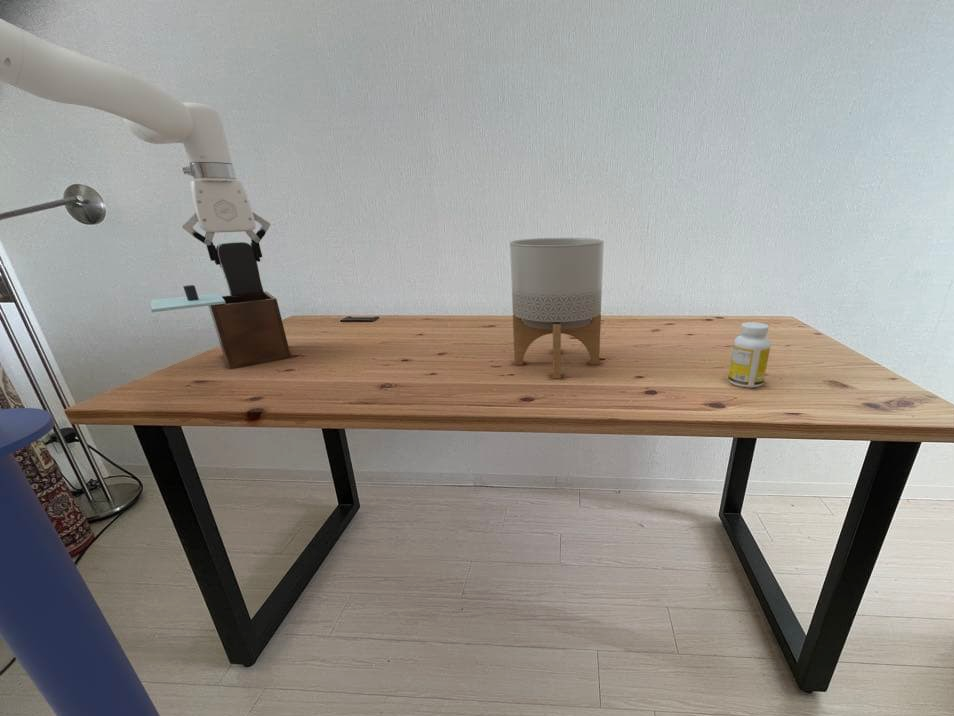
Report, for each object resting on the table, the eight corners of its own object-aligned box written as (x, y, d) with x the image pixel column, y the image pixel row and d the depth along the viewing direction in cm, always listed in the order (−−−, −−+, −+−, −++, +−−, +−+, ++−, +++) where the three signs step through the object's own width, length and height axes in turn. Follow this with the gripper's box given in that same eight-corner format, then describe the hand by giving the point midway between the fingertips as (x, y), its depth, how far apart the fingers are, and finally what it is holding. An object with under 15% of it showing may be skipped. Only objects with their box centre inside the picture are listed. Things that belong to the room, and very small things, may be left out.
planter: (595, 350, 110) (599, 237, 100) (602, 378, 93) (608, 244, 83) (518, 351, 111) (513, 238, 100) (511, 378, 94) (505, 246, 83)
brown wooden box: (229, 368, 102) (210, 306, 96) (223, 355, 111) (205, 297, 106) (291, 357, 109) (276, 298, 103) (280, 345, 118) (266, 291, 113)
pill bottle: (763, 379, 91) (775, 322, 87) (762, 391, 86) (774, 330, 81) (729, 375, 94) (738, 319, 89) (725, 385, 89) (735, 327, 84)
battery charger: (260, 291, 108) (247, 240, 104) (265, 293, 106) (252, 241, 101) (227, 295, 104) (211, 242, 99) (231, 297, 101) (215, 243, 97)
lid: (152, 312, 91) (145, 294, 89) (152, 302, 100) (146, 286, 99) (225, 303, 98) (220, 286, 96) (219, 295, 107) (215, 279, 106)
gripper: (162, 172, 87) (192, 267, 95) (264, 174, 97) (284, 260, 104) (161, 174, 93) (190, 264, 100) (258, 175, 102) (277, 258, 110)
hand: (238, 261), depth 102 cm, fingers closed on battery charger, 7 cm apart
